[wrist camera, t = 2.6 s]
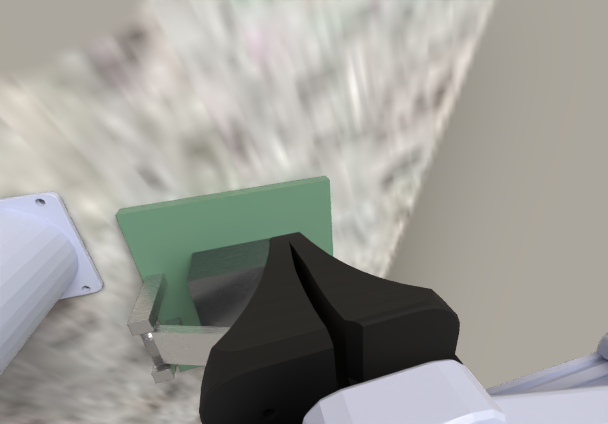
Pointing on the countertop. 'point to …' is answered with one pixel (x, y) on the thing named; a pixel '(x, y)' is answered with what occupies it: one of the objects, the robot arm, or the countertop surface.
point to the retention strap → (181, 343)
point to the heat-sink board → (220, 228)
